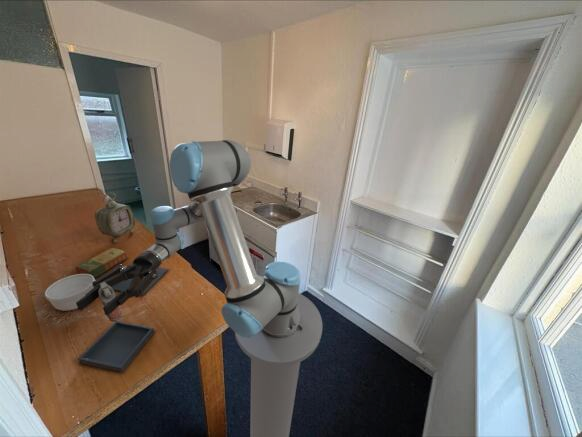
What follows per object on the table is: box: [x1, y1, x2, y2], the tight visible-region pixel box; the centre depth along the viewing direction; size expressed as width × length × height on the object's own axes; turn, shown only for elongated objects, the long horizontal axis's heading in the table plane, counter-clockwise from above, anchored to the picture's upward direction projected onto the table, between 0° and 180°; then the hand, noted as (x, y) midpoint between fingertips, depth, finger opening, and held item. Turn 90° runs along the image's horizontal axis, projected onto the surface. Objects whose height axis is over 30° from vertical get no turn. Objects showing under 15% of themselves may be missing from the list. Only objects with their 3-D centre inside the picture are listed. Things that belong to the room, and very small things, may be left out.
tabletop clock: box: [94, 192, 136, 244], centre depth 120 cm, size 14×9×25 cm, turn 168°
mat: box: [112, 267, 169, 296], centre depth 98 cm, size 16×16×1 cm
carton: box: [75, 247, 128, 279], centre depth 102 cm, size 8×16×4 cm, turn 163°
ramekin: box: [44, 273, 96, 312], centre depth 84 cm, size 13×13×7 cm
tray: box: [77, 320, 155, 373], centre depth 71 cm, size 13×13×2 cm
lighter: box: [99, 282, 123, 323], centre depth 67 cm, size 8×3×10 cm, turn 48°
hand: (92, 309), depth 61 cm, fingers closed on lighter, 7 cm apart
